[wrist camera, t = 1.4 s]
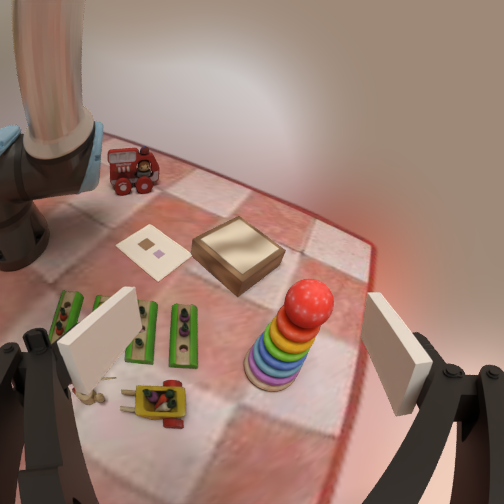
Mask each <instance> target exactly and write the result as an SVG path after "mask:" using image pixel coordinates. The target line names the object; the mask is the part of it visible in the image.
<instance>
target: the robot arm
mask: <svg viewBox="0 0 504 504" xmlns="http://www.w3.org/2000/svg"><path fill="white" fill-rule="evenodd" d="M84 7H85V0H12V32H13V43H14V44H13V45H14V53H15V62H16V69H17V76H18V82H19V87H20V92H21V97H22V102H23V107H24V111H25V115H26V119H27V123H28V127H27V128H26V131H25V133H24V134H21V129H20V127H19V126H18V125H10V126H7V127H4V128H1V129H0V270H3V271H13V270H17V269H20V268H23V267H25V266H27V265H28V264H30V263H31V262H33V261H34V260H35V259H36V258H37V257H38V256H39V255H40V254H41V253H42V252H43V250H44V249H45V247H46V245H47V243H48V240H49V229H48V226H47V222H46V220H45V218H44V217H43V215H42V214H41V212H40V211H39V210H38V208H37V207H36V205H35V204H34V202H33V200H36V199H42V198H49V197H56V196H64V195H72V194H80V193H81V192H87V191H92V190H94V189H95V188H96V187H97V186H98V183H99V177H100V164H101V151H102V139H103V124H102V123H101V122H97V121H93V116H92V114H91V112H90V111H89V110H88V109H87V108H86V107H84V106H83V104H82V77H81V75H82V74H81V57H82V32H83V18H84ZM141 329H142V324H141V318H140V313H139V307H138V301H137V295H136V289H135V287H125V286H124V287H123V288H122V289H121V290H119V291H118V292H117V293H115V294H114V295H113V296H112V297H110V298H109V299H108V300H107V301H105V302H104V303H103V304H102V305H101V306H99V307H98V308H97V309H96V310H94V311H93V312H92V313H91V314H90V315H88V316H87V317H86V318H85V319H83V320H82V321H81V322H79V323H77V324H75V325H74V326H72V327H71V328H70V329H69V330H68V331H66V332H65V334H63V335H62V336H60V337H59V338H58V339H57V340H56V341H55V342H53V343H52V344H51V343H50V340H49V337H48V334H47V331H46V330H45V329H44V328H35V329H31V330H29V331H27V332H26V333H25V334H24V335H23V340H24V342H25V345H26V348H27V350H28V352H21V350H20V347H19V345H18V344H17V343H13V342H12V343H7V344H4V345H3V346H2V347H1V348H0V504H15V497H16V488H17V480H18V483H19V491H20V498H21V504H99V503H98V500H97V498H96V495H95V492H94V489H93V486H92V483H91V480H90V477H89V474H88V470H87V467H86V464H85V460H84V456H83V453H82V449H81V445H80V440H79V436H78V432H77V427H76V422H75V417H74V411H73V405H72V399H71V392H70V390H69V388H68V385H69V384H70V383H71V382H72V383H73V386H74V388H75V390H76V392H79V393H82V394H86V395H89V394H90V393H91V391H92V390H93V389H94V387H95V386H96V385H97V384H98V382H99V381H100V380H101V379H102V377H103V376H104V375H105V374H106V372H107V371H108V370H109V369H110V367H111V366H112V365H113V364H114V362H115V361H116V360H117V359H118V357H119V356H120V355H121V354H122V352H123V351H124V350H125V349H126V348H127V346H128V345H129V344H130V343H131V341H132V340H133V339H134V338H135V337H136V335H137V334H138V333H139V332H140V331H141ZM361 338H362V340H363V342H364V345H365V347H366V349H367V351H368V353H369V355H370V358H371V360H372V362H373V364H374V367H375V369H376V371H377V373H378V376H379V378H380V380H381V383H382V385H383V387H384V389H385V392H386V394H387V396H388V399H389V401H390V404H391V406H392V409H393V411H394V413H395V416H401V415H407V414H411V413H412V412H413V409H414V407H415V405H416V404H417V406H418V408H419V412H418V414H417V416H416V418H415V420H414V422H413V424H412V426H411V428H410V430H409V432H408V433H407V435H406V437H405V439H404V441H403V442H402V444H401V446H400V448H399V450H398V451H397V453H396V455H395V456H394V458H393V459H392V461H391V463H390V464H389V466H388V467H387V469H386V470H385V472H384V473H383V475H382V477H381V478H380V479H379V481H378V482H377V484H376V485H375V487H374V488H373V489H372V491H371V492H370V493H369V495H368V496H367V498H366V499H365V500H364V501H363V503H362V504H418V502H419V500H420V499H421V497H422V495H423V493H424V491H425V489H426V487H427V485H428V483H429V481H430V479H431V477H432V474H433V472H434V470H435V468H436V466H437V463H438V461H439V459H440V456H441V454H442V451H443V449H444V446H445V443H446V441H447V438H448V435H449V433H450V430H451V427H452V424H453V422H457V442H456V443H457V444H456V458H455V471H454V479H453V487H452V494H451V500H450V504H504V372H503V371H502V370H501V369H500V368H499V367H497V366H495V365H494V366H493V365H485V366H483V367H482V368H481V370H480V372H479V374H478V375H465V372H464V371H463V369H461V368H460V367H459V366H456V365H454V364H446V363H445V362H444V360H443V359H442V357H441V356H440V355H439V354H438V352H437V351H436V350H435V349H434V347H433V346H432V345H431V344H430V342H429V341H428V340H427V338H426V337H425V336H423V335H422V334H420V333H418V332H415V333H412V332H411V331H410V330H409V328H408V327H407V326H406V324H405V323H404V322H403V321H402V319H401V318H400V317H399V315H398V314H397V313H396V312H395V310H394V309H393V308H392V307H391V305H390V304H389V303H388V301H387V300H386V299H385V298H384V297H383V295H382V294H381V293H380V292H375V293H367V300H366V306H365V313H364V319H363V325H362V330H361ZM11 382H12V384H13V386H14V387H13V388H12V384H11ZM23 446H24V448H25V462H26V470H20V471H19V467H20V461H21V455H22V450H23Z"/></svg>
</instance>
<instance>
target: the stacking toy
mask: <svg viewBox="0 0 504 504" xmlns="http://www.w3.org/2000/svg"><path fill="white" fill-rule="evenodd" d="M333 307H334V300H333V295H332V293H331V291H330V289H329V288H328V287H327V286H326V285H325V284H324V283H322V282H320V281H318V280H315V279H304V280H301V281H298V282H296V283H295V284H294V285H293V286H292V287H291V288H290V289H289V290H288V292H287V294H286V297H285V302H284V305H283V306H282V307H281V308H280V310H279V311H278V313H277V316H275V317H274V319H273V320H272V322H270V323H269V324H268V326H267V327H266V329H265V331H264V332H263V333H262V335H261V336H260V337H259V338H258V339H257V340H256V342H255V344H254V345H253V346H252V347H251V348H250V349H249V351H248V352H247V354H246V356H245V360H244V368H245V372H246V375H247V376H248V378H249V380H250V381H251V382H252V383H253V384H254V385H256V386H257V387H259V388H261V389H264V390H267V391H279V390H283V389H285V388H287V387H288V386H290V385H291V384H292V383H293V381H294V380H295V378H296V377H297V375H298V373H299V371H300V369H301V367H302V365H303V362H304V361H305V359H306V357H307V354H308V351H309V349H310V347H311V346H312V344H313V342H314V340H315V336H316V335H317V334H318V332H319V330H320V326H321V325H322V324H323V323H325V322H326V321H327V320H328V318H329V317H330V315H331V313H332V311H333Z"/></svg>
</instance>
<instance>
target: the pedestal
mask: <svg viewBox="0 0 504 504" xmlns="http://www.w3.org/2000/svg"><path fill="white" fill-rule="evenodd" d="M285 251H286V250H284V249H283V248H282V247H280V246H279V245H278V244H276V243H275V242H274V241H272V240H271V239H270V238H268V237H267V236H266V235H264V234H263V233H262V232H260V231H259V230H258V229H256V228H255V227H253V226H252V225H251V224H249V223H248V222H247V221H245V220H244V219H243V218H241V217H240V216H238V217H236V218H234V219H232V220H230V221H228V222H226V223H224V224H222V225H220V226H218V227H216V228H214V229H212V230H210V231H208V232H206V233H204V234H202V235H200V236H198V237H196V238H194V239H193V241H192V250H191V255H192V257H193V258H195V259H196V260H197V261H198V262H199V263H200V264H201V265H202V266H203V267H204V268H206V269H207V270H208V271H209V272H210V273H211V274H212V275H213V276H214V277H216V278H217V279H218V280H219V281H220V282H221V283H222V284H223V285H225V286H226V287H227V288H228V289H229V290H230V291H231V292H233V293H234V294H235V295H236V296H237V297H238V296H240V295H241V294H242V293H244V292H245V291H246V290H248V289H249V288H250V287H252V286H253V285H254V284H256V283H257V282H258V281H260V280H261V279H262V278H264V277H265V276H266V275H267V274H269V273H270V272H271V271H273V270H274V269H275V268H277V267H278V266H279V265H280V263H281V261H282V258H283V256H284V254H285Z"/></svg>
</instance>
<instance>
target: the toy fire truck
mask: <svg viewBox="0 0 504 504" xmlns="http://www.w3.org/2000/svg"><path fill="white" fill-rule="evenodd" d="M149 161H150V162H149ZM108 162H109V163H110V182H111V184H112V185H115V192H116V193H117V194H119V195H126V194H128V193H129V192H130V191H131V188H132V185H131V183H136V189H137V191H138V192H140V193H148V192H150V191H151V190H152V188H153V182H156V181H157V180H158V179H159V165H158V163H157V161H156V159H155V157H154V155H153V154H152V153H150V152H149V149H148V147H146V146H144V147H142V148H141V149H140V153H139V150H138V149H137V148H125V149H112V150H109V151H108ZM137 163H138V168H137V169H136V166H137ZM150 163H151V166H150ZM149 168H151V170H150V169H149ZM151 171H152V173H151Z"/></svg>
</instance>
